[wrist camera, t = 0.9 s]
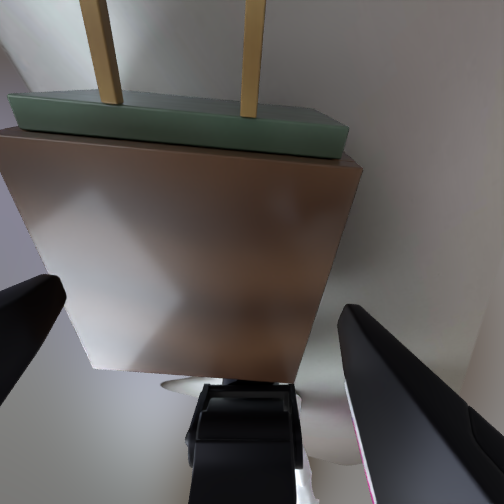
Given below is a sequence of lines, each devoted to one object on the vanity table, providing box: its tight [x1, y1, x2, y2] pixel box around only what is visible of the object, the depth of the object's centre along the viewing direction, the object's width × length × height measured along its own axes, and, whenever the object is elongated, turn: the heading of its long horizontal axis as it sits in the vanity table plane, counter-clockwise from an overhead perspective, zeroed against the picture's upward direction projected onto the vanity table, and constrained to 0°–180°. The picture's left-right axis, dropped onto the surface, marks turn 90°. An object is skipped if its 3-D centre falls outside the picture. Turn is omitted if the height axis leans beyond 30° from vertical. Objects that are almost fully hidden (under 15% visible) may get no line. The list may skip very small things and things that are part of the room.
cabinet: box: [0, 126, 363, 384], centre depth 17 cm, size 15×14×9 cm
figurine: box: [295, 394, 319, 504], centre depth 32 cm, size 8×8×12 cm
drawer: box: [7, 0, 349, 159], centre depth 14 cm, size 19×13×8 cm, turn 175°
